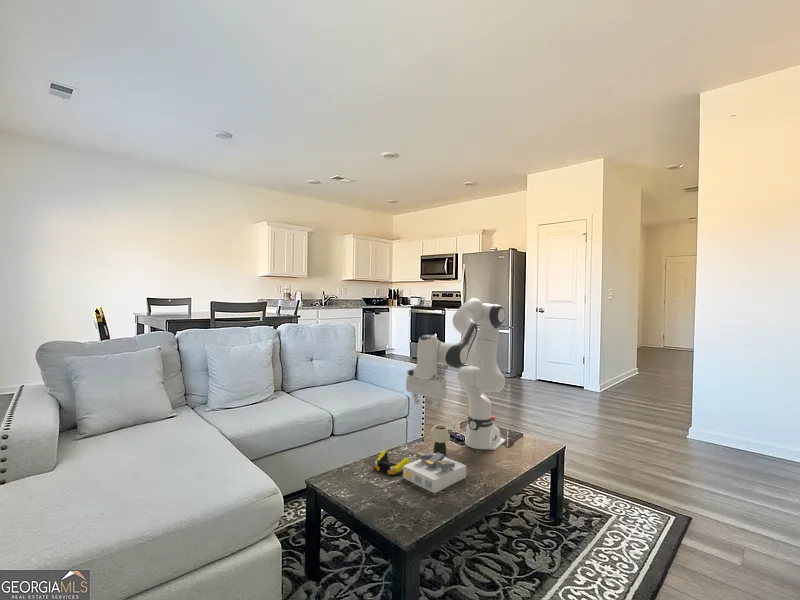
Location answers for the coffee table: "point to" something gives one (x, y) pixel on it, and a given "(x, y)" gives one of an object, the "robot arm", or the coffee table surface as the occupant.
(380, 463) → the gaming controller
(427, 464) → the block
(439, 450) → the character mug
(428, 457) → the block
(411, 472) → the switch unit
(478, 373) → the robot arm
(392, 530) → the coffee table surface
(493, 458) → the coffee table surface
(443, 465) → the block
